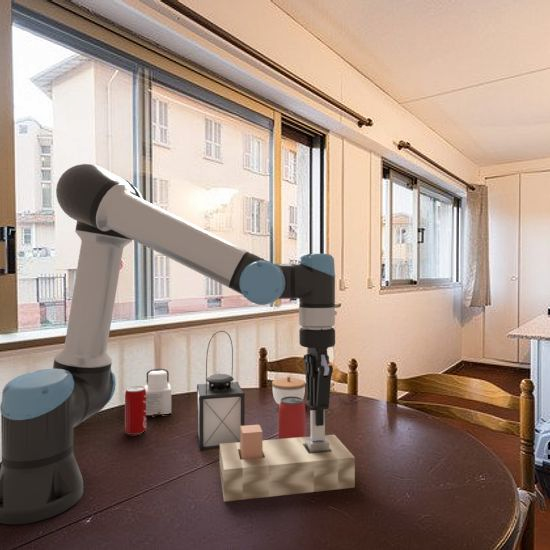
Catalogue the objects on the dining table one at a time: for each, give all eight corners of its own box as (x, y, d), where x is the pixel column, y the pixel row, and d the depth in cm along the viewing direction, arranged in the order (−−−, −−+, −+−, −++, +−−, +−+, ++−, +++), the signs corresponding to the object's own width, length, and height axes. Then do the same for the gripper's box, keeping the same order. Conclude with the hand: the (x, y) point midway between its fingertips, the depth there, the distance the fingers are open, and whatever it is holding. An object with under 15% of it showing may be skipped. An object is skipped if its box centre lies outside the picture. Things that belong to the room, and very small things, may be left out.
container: (144, 409, 130) (144, 368, 130) (169, 407, 132) (169, 366, 132) (144, 417, 123) (144, 373, 123) (171, 415, 125) (171, 372, 125)
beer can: (303, 455, 97) (303, 404, 97) (276, 453, 98) (276, 402, 98) (307, 444, 103) (307, 396, 103) (281, 442, 105) (281, 394, 105)
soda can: (147, 434, 110) (147, 389, 110) (125, 437, 108) (125, 391, 108) (145, 426, 115) (145, 383, 115) (124, 429, 113) (124, 385, 113)
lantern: (238, 430, 113) (238, 327, 113) (245, 446, 102) (244, 333, 102) (196, 434, 110) (196, 329, 110) (199, 451, 99) (198, 334, 99)
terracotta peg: (242, 463, 82) (242, 433, 82) (240, 454, 86) (240, 425, 86) (262, 461, 83) (262, 431, 83) (259, 453, 87) (259, 424, 87)
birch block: (223, 501, 77) (223, 469, 77) (219, 471, 89) (219, 443, 89) (354, 487, 83) (354, 457, 83) (334, 460, 94) (334, 434, 94)
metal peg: (310, 473, 85) (310, 444, 85) (305, 464, 89) (305, 437, 89) (329, 472, 86) (329, 443, 86) (323, 463, 90) (323, 435, 90)
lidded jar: (311, 404, 135) (311, 375, 135) (294, 413, 126) (294, 382, 126) (282, 398, 141) (282, 371, 141) (265, 407, 132) (265, 378, 132)
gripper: (345, 330, 81) (345, 450, 82) (324, 323, 94) (324, 426, 94) (308, 331, 80) (309, 453, 80) (292, 323, 93) (292, 428, 93)
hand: (317, 438), depth 87 cm, fingers closed
